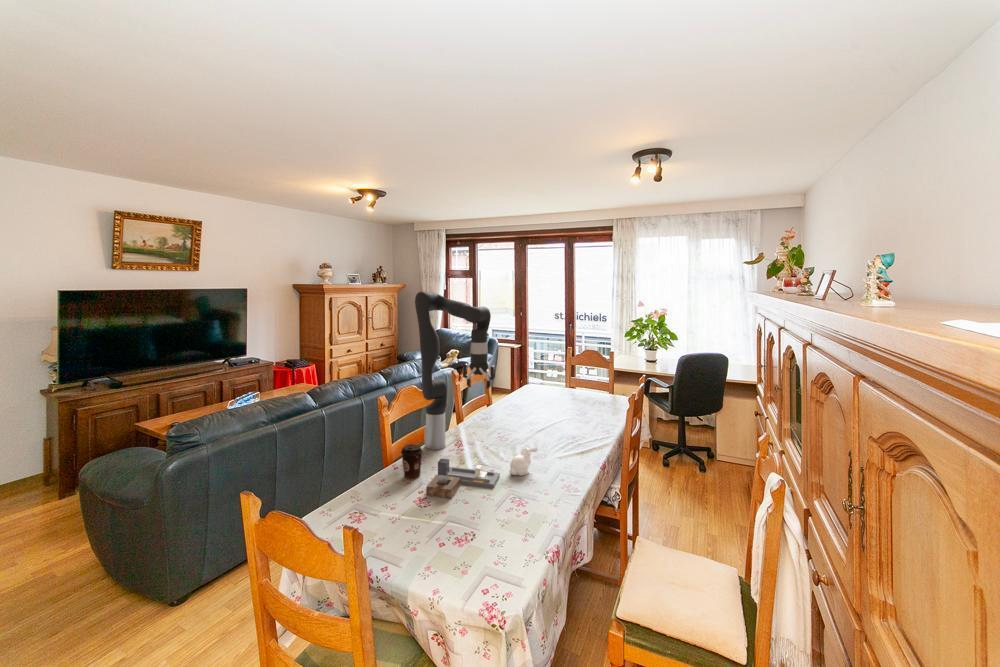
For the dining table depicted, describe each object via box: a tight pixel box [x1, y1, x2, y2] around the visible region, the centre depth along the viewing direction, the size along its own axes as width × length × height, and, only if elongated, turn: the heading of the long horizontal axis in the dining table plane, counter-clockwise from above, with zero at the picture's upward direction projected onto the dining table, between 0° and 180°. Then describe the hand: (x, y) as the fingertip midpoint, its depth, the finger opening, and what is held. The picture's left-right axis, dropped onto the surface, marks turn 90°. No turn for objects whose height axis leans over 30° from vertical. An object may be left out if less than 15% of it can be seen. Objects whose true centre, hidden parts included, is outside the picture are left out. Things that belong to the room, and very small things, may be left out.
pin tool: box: [437, 458, 450, 485], centre depth 164 cm, size 3×3×12 cm
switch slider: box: [474, 464, 487, 478], centre depth 174 cm, size 4×5×4 cm
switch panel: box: [449, 466, 501, 489], centre depth 175 cm, size 22×10×3 cm, turn 76°
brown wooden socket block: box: [425, 474, 461, 500], centre depth 165 cm, size 10×10×4 cm
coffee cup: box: [400, 443, 424, 481], centre depth 176 cm, size 9×8×13 cm
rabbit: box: [508, 446, 538, 477], centre depth 181 cm, size 12×9×12 cm
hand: (478, 387), depth 192 cm, fingers open, 8 cm apart
